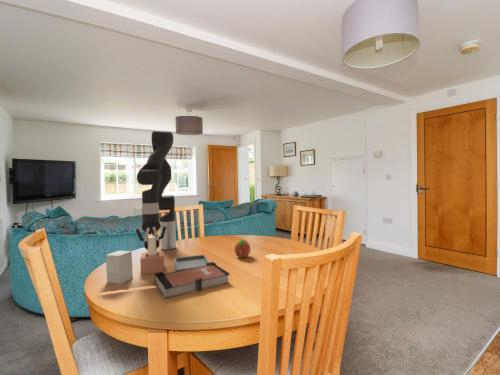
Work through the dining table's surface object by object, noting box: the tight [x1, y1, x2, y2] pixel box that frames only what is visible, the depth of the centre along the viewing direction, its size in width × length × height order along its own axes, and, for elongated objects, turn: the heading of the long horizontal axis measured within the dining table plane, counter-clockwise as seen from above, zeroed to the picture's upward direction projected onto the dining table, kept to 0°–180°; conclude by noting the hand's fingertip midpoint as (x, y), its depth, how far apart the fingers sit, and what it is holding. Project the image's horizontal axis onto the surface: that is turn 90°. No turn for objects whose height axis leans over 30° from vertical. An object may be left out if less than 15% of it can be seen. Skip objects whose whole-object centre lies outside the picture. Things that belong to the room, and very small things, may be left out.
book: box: [154, 261, 231, 300], centre depth 113 cm, size 26×18×5 cm
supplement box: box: [105, 250, 134, 285], centre depth 116 cm, size 7×7×13 cm
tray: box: [173, 254, 210, 271], centre depth 135 cm, size 20×16×2 cm
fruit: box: [234, 238, 251, 259], centre depth 149 cm, size 9×10×10 cm
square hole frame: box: [139, 250, 165, 275], centre depth 129 cm, size 10×10×8 cm
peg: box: [147, 235, 158, 257], centre depth 129 cm, size 4×4×13 cm
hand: (152, 248), depth 129 cm, fingers closed on peg, 4 cm apart
